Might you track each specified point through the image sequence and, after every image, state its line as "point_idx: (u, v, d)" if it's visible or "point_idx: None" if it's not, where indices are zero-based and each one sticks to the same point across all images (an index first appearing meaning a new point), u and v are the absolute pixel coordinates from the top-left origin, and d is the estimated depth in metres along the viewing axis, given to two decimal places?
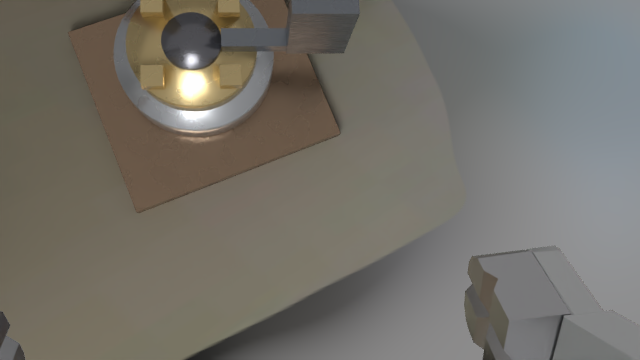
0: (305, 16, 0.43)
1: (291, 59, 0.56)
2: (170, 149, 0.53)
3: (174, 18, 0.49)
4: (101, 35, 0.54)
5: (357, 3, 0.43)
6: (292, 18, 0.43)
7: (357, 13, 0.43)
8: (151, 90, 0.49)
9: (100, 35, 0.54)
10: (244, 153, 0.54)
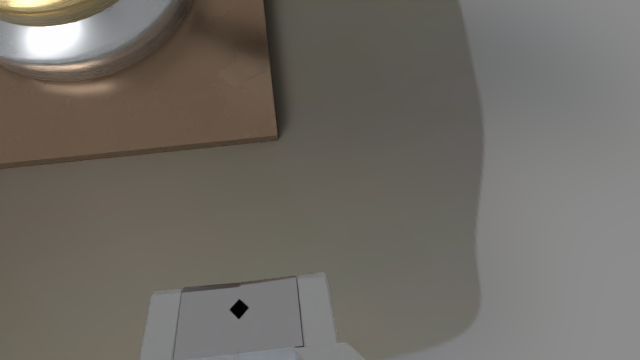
0: None
1: None
2: None
3: None
4: None
5: None
6: None
7: None
8: None
9: None
10: (97, 126, 0.30)
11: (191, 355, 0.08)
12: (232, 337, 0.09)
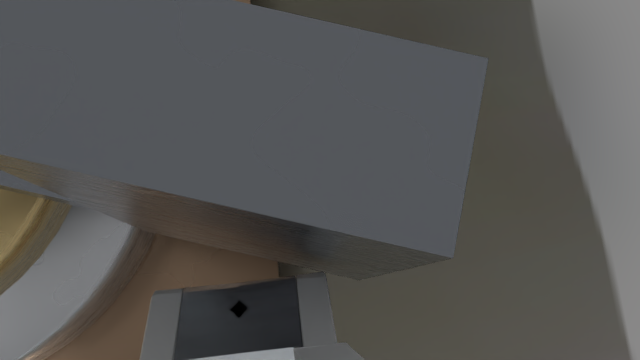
0: (53, 174, 0.06)
1: None
2: None
3: None
4: None
5: (456, 171, 0.05)
6: None
7: (436, 250, 0.05)
8: None
9: None
10: None
11: (192, 355, 0.08)
12: (233, 337, 0.09)
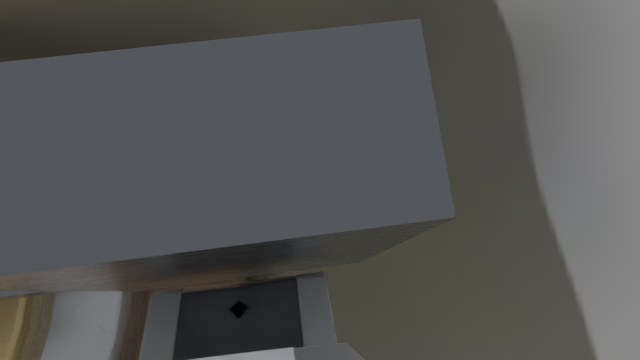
0: (40, 276, 0.06)
1: None
2: None
3: None
4: None
5: (429, 135, 0.06)
6: None
7: (438, 215, 0.05)
8: None
9: None
10: None
11: (191, 355, 0.08)
12: (232, 337, 0.09)
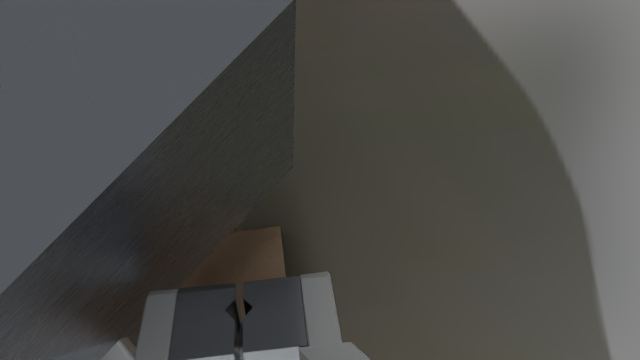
0: (12, 311, 0.06)
1: None
2: None
3: None
4: None
5: None
6: None
7: (282, 7, 0.06)
8: None
9: None
10: None
11: (186, 356, 0.08)
12: (227, 338, 0.09)
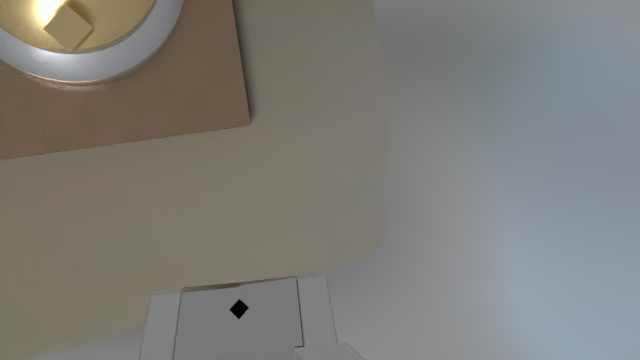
0: None
1: (209, 7, 0.40)
2: (4, 90, 0.37)
3: None
4: None
5: None
6: None
7: None
8: (82, 45, 0.33)
9: None
10: (113, 121, 0.39)
11: (191, 355, 0.08)
12: (232, 337, 0.09)
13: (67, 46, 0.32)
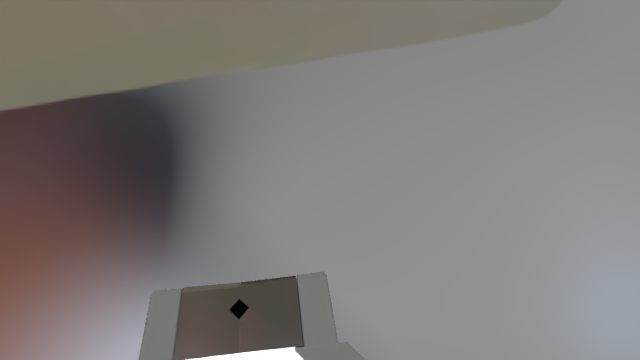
0: None
1: None
2: None
3: None
4: None
5: None
6: None
7: None
8: None
9: None
10: None
11: (191, 355, 0.08)
12: (232, 337, 0.09)
13: None
